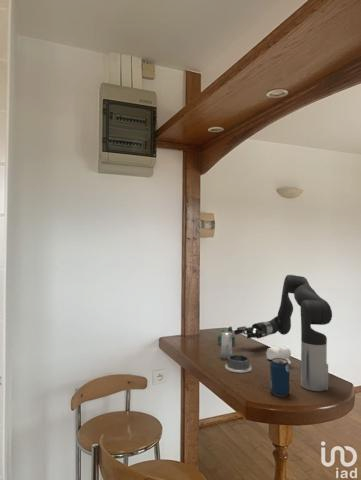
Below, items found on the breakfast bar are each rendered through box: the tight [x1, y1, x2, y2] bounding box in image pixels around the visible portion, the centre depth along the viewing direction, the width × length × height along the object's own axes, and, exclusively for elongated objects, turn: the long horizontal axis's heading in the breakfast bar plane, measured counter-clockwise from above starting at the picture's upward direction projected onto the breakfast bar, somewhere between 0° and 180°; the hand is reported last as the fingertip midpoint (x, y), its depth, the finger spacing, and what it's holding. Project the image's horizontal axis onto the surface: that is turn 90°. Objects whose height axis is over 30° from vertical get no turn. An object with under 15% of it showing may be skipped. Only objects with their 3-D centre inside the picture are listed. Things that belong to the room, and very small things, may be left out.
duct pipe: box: [220, 331, 233, 361], centre depth 169 cm, size 5×5×12 cm
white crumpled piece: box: [265, 345, 292, 365], centre depth 163 cm, size 9×8×15 cm
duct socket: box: [224, 354, 253, 374], centre depth 155 cm, size 12×12×4 cm
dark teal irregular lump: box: [217, 326, 236, 347], centre depth 192 cm, size 9×9×9 cm
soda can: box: [269, 358, 291, 397], centre depth 129 cm, size 7×7×12 cm
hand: (241, 334), depth 176 cm, fingers open, 8 cm apart
